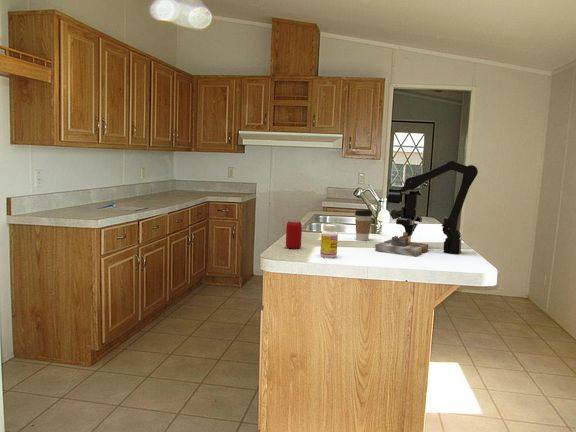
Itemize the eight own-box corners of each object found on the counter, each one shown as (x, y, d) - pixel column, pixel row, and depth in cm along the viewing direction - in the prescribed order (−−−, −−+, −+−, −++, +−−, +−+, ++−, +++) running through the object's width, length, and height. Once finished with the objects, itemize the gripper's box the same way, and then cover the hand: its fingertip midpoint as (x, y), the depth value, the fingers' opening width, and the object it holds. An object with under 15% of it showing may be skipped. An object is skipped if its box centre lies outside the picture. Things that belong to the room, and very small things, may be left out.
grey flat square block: (428, 250, 221) (429, 236, 220) (415, 256, 205) (416, 241, 205) (389, 245, 230) (390, 232, 229) (375, 251, 215) (376, 236, 214)
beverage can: (301, 247, 219) (302, 220, 217) (300, 249, 212) (301, 222, 211) (286, 246, 219) (287, 219, 218) (284, 248, 213) (285, 221, 211)
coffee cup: (371, 241, 241) (373, 211, 239) (354, 241, 241) (356, 210, 239) (369, 239, 249) (371, 209, 247) (352, 238, 249) (354, 209, 247)
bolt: (410, 242, 222) (411, 232, 222) (405, 244, 216) (406, 233, 216) (404, 241, 224) (404, 231, 223) (398, 243, 218) (399, 233, 217)
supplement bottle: (330, 258, 194) (331, 226, 193) (317, 256, 198) (318, 224, 197) (340, 256, 199) (341, 225, 198) (326, 254, 204) (328, 223, 202)
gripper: (400, 202, 234) (398, 234, 236) (385, 204, 219) (384, 239, 220) (423, 204, 228) (421, 237, 230) (410, 206, 213) (408, 242, 214)
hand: (408, 238), depth 224 cm, fingers closed
